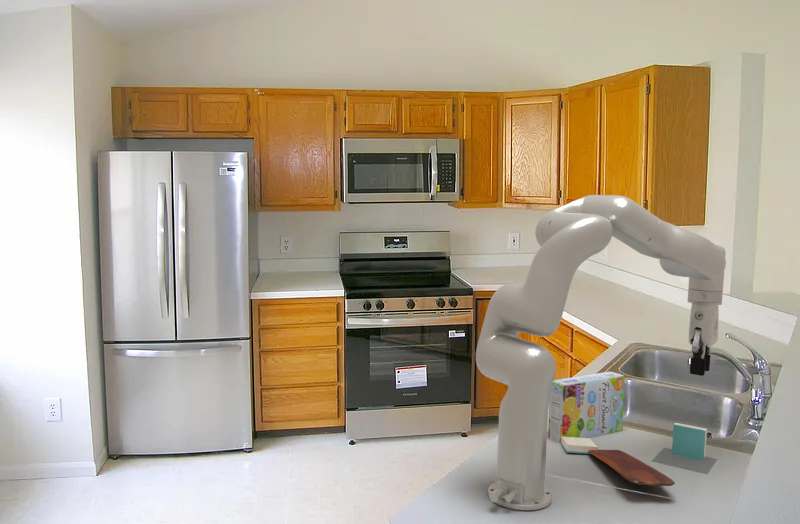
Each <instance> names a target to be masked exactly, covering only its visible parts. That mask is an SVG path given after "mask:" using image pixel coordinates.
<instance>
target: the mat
mask: <svg viewBox="0 0 800 524" xmlns="http://www.w3.org/2000/svg"><path fill="white" fill-rule="evenodd" d="M717 461H718V458H714V457H709V456H705V459H704V460H699V459H695V458H690V457H686V456H681V455H677V454H672V448H667V447H663V448H662V449H661V450H660V451H659V452H658V453H657V454H656V456H655V457H654V458H653V459H652V460H651V462H653V463H658V464H662V465H666V466H670V467H674V468H679V469H683V470H687V471H692V472H696V473H701V474H705V475H708V474H709V473H710V471H711V470H712V468H713V467H714V465H715V463H716V462H717Z"/></svg>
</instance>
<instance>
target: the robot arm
mask: <svg viewBox="0 0 800 524" xmlns="http://www.w3.org/2000/svg"><path fill="white" fill-rule="evenodd" d="M538 220H539V221H538V222H537V224H536V227H535V232H534V235H535V239H536V241H537V244H538V245H539V246H540V247H539V249H538V250H537V251H536V253H535V255H534V257H533V259H532V261H531V264H530V268H529V270H528V273H527V276H526V279H525V282H524V284H522V283H517V282H514V283H513V282H512V283H511V282H510V283H506V284H503V285H501V286H500V287H499V288H497V290H496V291H495V292H494V293H493V295H492V296H491V298H490V300H489V303H488V305H487V307H486V312H485V316H484V319H483V323H482V326H481V331H480V334H479V337H478V340H477V346H476V350H475V351H476V352H475V363H476V364H475V365H476V367H477V369H478V371H480V373H481V374H482V375H483V376H485V377H486V378H488V379H491V380H493V381H496V382H499V383H501V384H504V385H506V386H508V387H507V390H506V392H505V394H504V396H503V398H502V400H501V402H500V405H499V410H498V411H499V412H498V432H497V433H498V435H497V457H496V459H497V461H496V480H495V482H493V483H491V484H490V485H489V486H488V489H487V495H488V499H489V500H490V502H491V503H495V504H497V505H499V506H502V507H504V508H507V509H511V510H517V511H536V510H537V511H538V510H541V509H544V508H546V507H548V506H549V505H550V504H552V502H553V494H552V491H551V490H550V489H549V488H548V487H546V486H545V481H546V463H547V461H546V460H547V459H546V458H547V444H548V443H547V442H548V441H547V440H548V424H549V399H550V393H551V388H552V385H553V381H554V380H555V378H556V377H555V376H556V371H557V369H556V367H557V364H556V361H555V358H554V356H553V355H552V353H551V352H550V350H549V349H547V348H546V347H545V346H542V345H541V344H538V343H536V342H533V341H530V340H527V339H523V338H519V335H520V333H524V334H527V335H531V336H535V337H550V336H552V335H553V334H555V333H556V331H558V329H559V326H560V323H561V320H562V318H563V313H564V310H565V306H566V303H567V298H568V295H569V293H570V287H571V284H572V282H573V279H574V275H575V273H576V271H577V270H578V269H579V267H580V266H581V265H582V264H583V263H584V262H585V261H586V260H588V259H589V258H591V257H592V256H594V255H597V254H599V253H601V252H603V250H604V249H606V247H607V246H609V243H610V242H611V240H612V237H613V238H615V239H616V240H618V241H619V242H621V243H623V244H624V245H626V246H628V247H630V248H631V249H632V250H634V251H635V252H637V253H639V254H640V255H641V254H642V255H644V256H647V257H650V258H653V259H657V260H659V265H660V267H661V269H662V270H663V271H664V272H665V273H667V274H669V275H671V276H674V277H682V278H688V288H687V289H688V290H687V303H689V304H691V306H690V307H691V308H690V316H689V326H688V328H689V329H688V344H690V345H691V355H690V360H689V361H690V362H689V363H690V364H689V374H691V375H695V376H700V377H704V376H705V374H706V373H705V372H710V366H711V350H712V349H711V348H712V346H713V345H715V344H716V343H717V342H718V340H719V318H720V317H719V312H720V310H719V306H721V305H722V304H723V294H724V280H725V279H724V278H725V270H726V264H727V261H726V260H727V259H726V249H725V248H724V246H722V245H717V244H715V243H714V242H712V241H711V240H709V239H708V238H706V237H705V236H702V235H700V234H698V233H696V232H694V231H690V230H688V229H686V228H683V227H680V226H678V225H675V224H673V223H670V222H667V221H664V220H662V219H661V218H659V217H658V216H656V215H655V214H653V213H652V212H650V210H647V209H646V208H645V207H643V206H642V205H640V204H639V203H637V202H636V201H634V200H633V199H631V198H629V197H627V196H623V195H618V194H608V195H607V194H588V195H586V196H582V197H580V198H578V199H575V200H572V201H570V202H568V203H566V204H563V205H562V206H559V207H557V208H554V209H552V210H550V211H548V212H547V213H545V214H543V216H541V218H540V219H538Z"/></svg>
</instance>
